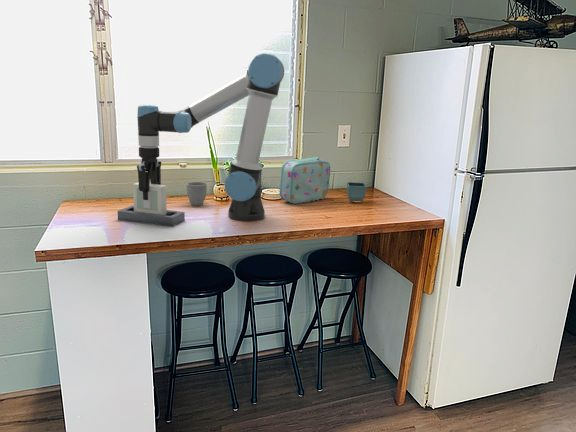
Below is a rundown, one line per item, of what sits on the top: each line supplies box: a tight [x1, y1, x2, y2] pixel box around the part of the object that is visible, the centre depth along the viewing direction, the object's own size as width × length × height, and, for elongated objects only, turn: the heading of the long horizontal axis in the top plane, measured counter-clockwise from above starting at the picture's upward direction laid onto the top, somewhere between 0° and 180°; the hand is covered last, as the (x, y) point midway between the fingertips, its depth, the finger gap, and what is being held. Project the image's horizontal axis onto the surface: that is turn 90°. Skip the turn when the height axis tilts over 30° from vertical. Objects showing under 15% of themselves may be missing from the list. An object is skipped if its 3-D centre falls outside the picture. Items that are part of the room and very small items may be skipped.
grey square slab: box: [132, 181, 167, 215], centre depth 184 cm, size 12×4×12 cm, turn 74°
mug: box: [186, 181, 208, 207], centre depth 213 cm, size 12×9×10 cm
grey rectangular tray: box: [117, 205, 186, 227], centre depth 185 cm, size 24×10×4 cm, turn 74°
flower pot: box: [346, 181, 368, 202], centre depth 230 cm, size 9×9×9 cm
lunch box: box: [279, 156, 331, 205], centre depth 227 cm, size 27×10×21 cm, turn 133°
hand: (150, 206), depth 184 cm, fingers closed on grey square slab, 4 cm apart
